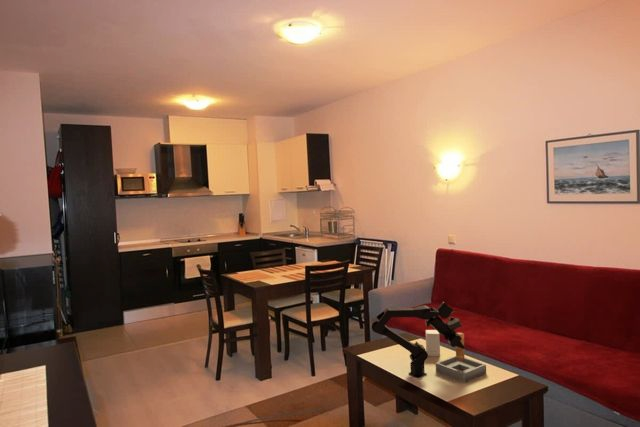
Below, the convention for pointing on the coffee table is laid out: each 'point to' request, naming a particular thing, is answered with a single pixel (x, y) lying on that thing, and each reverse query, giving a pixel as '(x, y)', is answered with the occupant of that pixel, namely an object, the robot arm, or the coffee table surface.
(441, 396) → the coffee table surface
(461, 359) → the orange peg
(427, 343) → the supplement box
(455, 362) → the socket box
